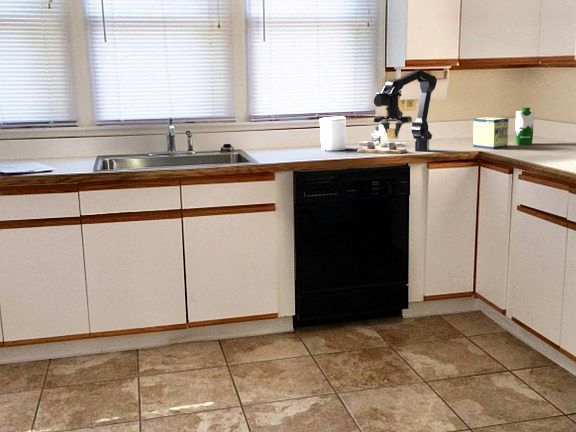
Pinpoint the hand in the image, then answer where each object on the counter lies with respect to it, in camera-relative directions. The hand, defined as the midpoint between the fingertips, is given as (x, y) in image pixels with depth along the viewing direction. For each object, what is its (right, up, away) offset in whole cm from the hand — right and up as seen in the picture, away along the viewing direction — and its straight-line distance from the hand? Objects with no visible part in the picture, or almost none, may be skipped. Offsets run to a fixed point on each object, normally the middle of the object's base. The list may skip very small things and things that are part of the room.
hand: (392, 136), depth 350 cm
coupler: (0, -1, 0) cm, 1 cm away
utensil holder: (-28, -4, +34) cm, 44 cm away
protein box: (+55, -4, +17) cm, 58 cm away
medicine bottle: (-1, -1, +40) cm, 40 cm away
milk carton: (+75, -2, +23) cm, 79 cm away
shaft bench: (-4, -7, +15) cm, 16 cm away
